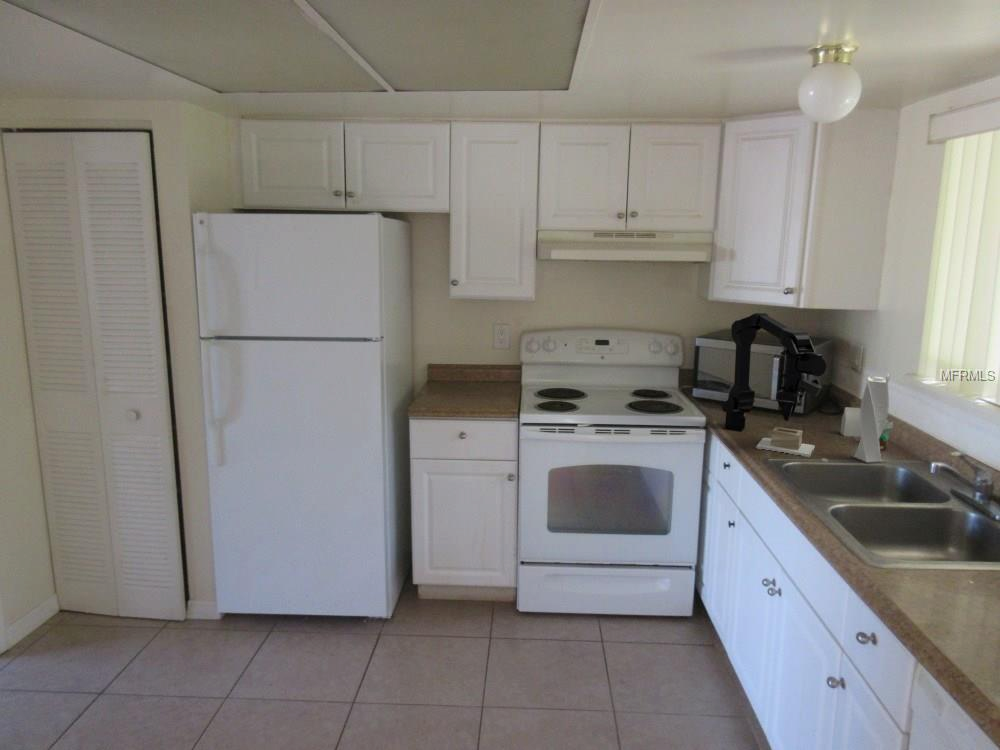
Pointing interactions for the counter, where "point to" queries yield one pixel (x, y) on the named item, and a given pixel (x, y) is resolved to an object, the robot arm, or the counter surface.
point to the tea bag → (851, 422)
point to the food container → (885, 434)
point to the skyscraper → (873, 419)
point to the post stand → (803, 450)
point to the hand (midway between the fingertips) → (788, 417)
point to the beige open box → (786, 438)
